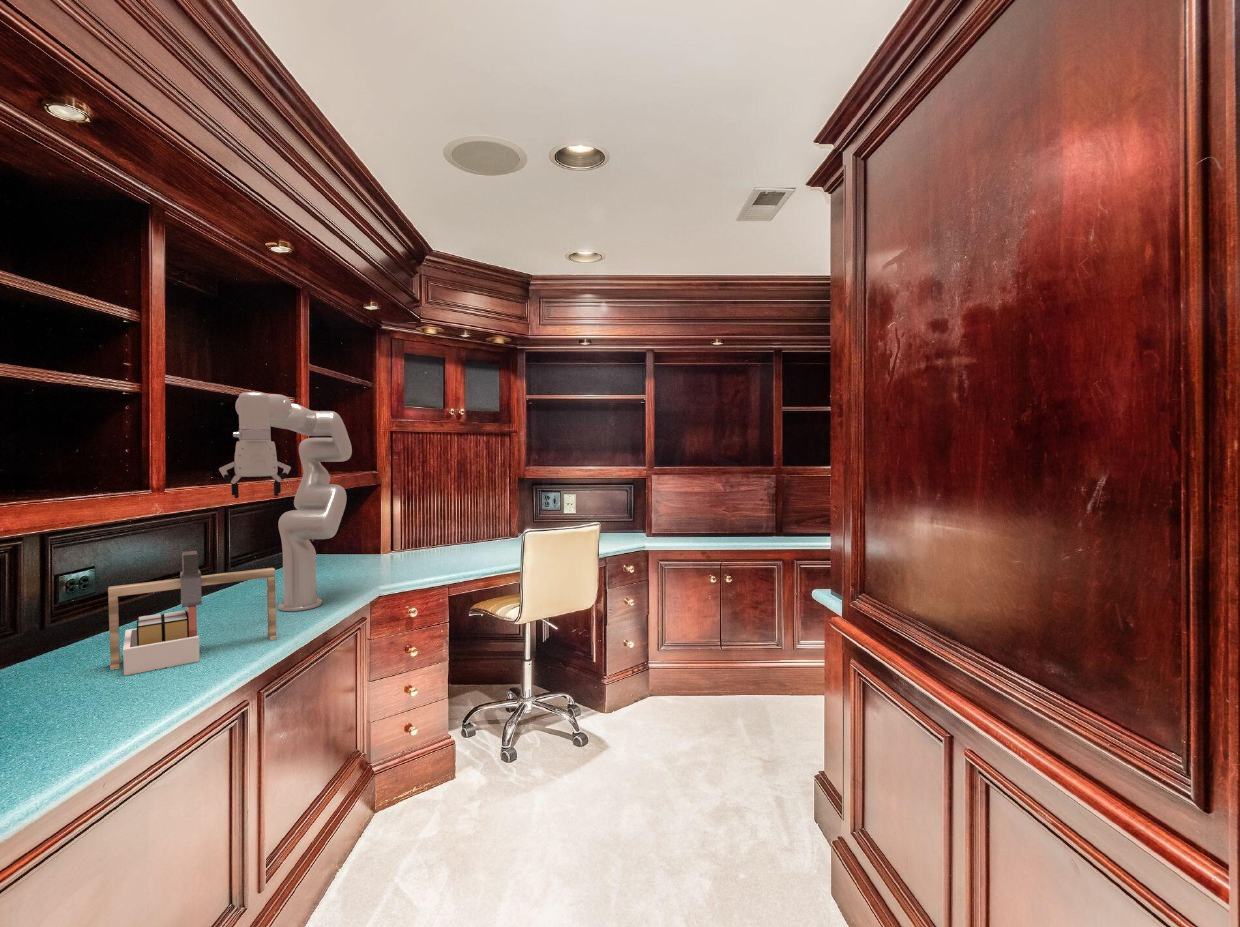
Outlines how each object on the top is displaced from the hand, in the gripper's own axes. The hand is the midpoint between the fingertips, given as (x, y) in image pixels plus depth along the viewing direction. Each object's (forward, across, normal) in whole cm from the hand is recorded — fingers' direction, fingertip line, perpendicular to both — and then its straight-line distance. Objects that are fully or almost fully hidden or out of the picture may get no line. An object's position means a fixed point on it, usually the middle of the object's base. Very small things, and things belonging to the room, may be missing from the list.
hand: (256, 496), depth 166 cm
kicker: (+37, -16, -9) cm, 41 cm away
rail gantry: (+38, -15, -9) cm, 42 cm away
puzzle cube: (+39, -22, -9) cm, 45 cm away
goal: (+38, -22, -9) cm, 45 cm away
